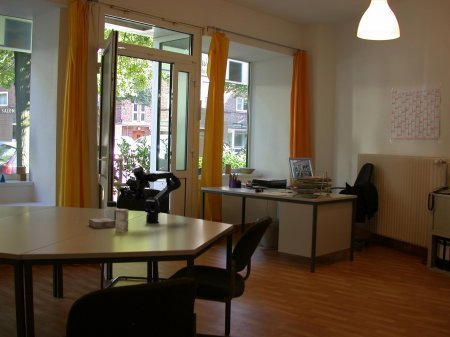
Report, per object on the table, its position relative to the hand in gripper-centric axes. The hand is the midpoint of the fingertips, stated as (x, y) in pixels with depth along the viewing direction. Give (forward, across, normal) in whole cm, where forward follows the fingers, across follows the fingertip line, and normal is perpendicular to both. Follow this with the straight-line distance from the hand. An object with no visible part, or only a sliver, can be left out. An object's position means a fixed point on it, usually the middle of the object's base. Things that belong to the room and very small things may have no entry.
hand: (124, 201), depth 277 cm
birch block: (+14, +6, +9) cm, 18 cm away
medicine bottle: (-4, -25, +21) cm, 33 cm away
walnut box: (+12, -14, +11) cm, 21 cm away
